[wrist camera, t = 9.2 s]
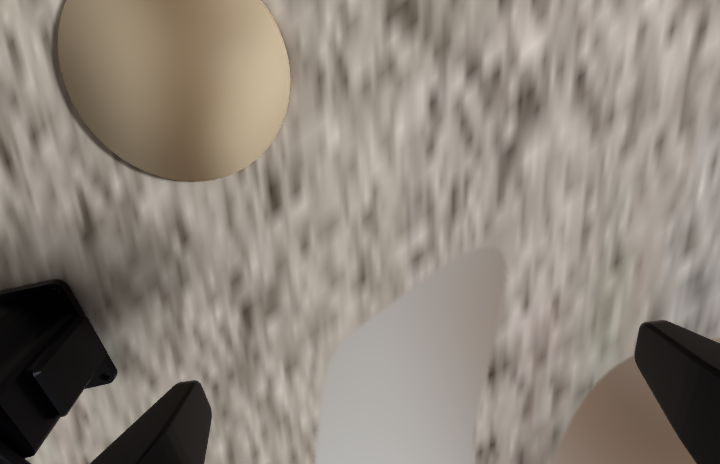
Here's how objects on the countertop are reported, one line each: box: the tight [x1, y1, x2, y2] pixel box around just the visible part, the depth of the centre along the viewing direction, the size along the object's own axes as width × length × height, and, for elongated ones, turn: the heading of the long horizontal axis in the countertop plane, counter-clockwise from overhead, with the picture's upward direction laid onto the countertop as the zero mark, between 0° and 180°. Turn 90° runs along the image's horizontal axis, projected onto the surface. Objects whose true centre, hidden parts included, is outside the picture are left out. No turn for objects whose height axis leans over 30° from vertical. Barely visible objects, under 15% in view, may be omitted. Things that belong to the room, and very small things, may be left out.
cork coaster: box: [58, 0, 291, 182], centre depth 17 cm, size 9×9×1 cm
